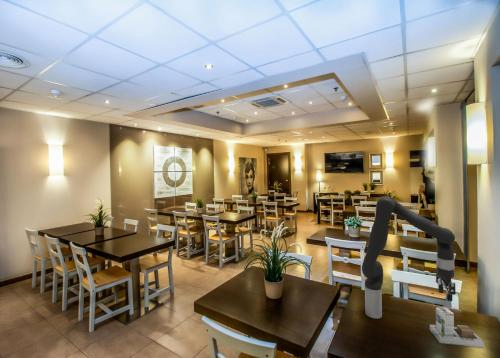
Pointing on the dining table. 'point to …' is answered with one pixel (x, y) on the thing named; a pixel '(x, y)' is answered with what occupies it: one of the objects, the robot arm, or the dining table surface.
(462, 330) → the walnut block
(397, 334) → the dining table surface
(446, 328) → the syrup box
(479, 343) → the white compartment tray
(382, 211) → the robot arm
